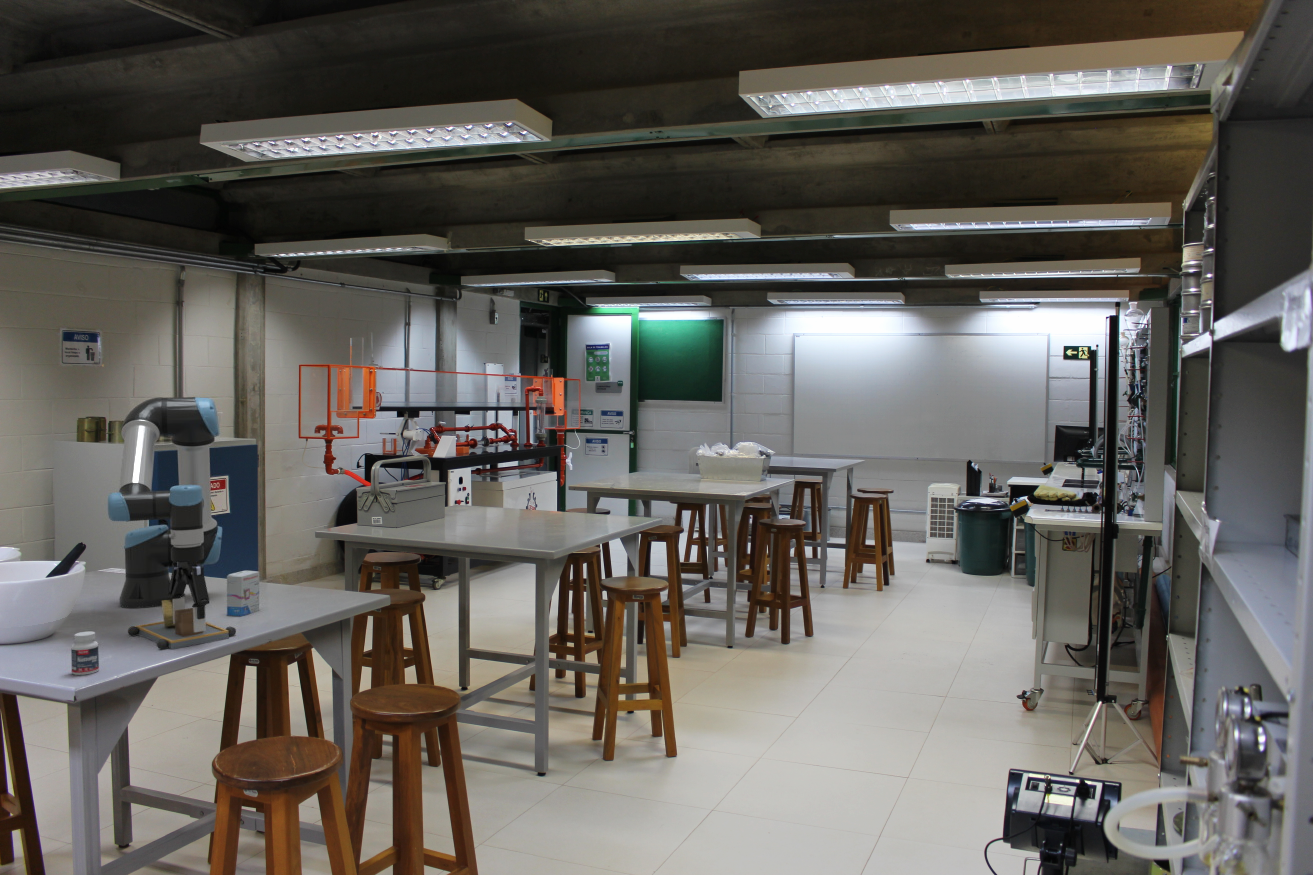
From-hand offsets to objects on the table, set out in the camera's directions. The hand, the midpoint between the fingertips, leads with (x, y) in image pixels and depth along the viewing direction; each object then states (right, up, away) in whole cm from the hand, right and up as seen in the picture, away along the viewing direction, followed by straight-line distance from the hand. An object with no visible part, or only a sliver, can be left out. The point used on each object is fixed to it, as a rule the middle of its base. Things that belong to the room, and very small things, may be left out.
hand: (189, 627), depth 236 cm
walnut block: (0, -2, 0) cm, 2 cm away
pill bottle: (-9, -4, -29) cm, 30 cm away
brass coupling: (-7, -1, +7) cm, 10 cm away
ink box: (+1, -2, +29) cm, 30 cm away
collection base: (-4, -3, +3) cm, 6 cm away
